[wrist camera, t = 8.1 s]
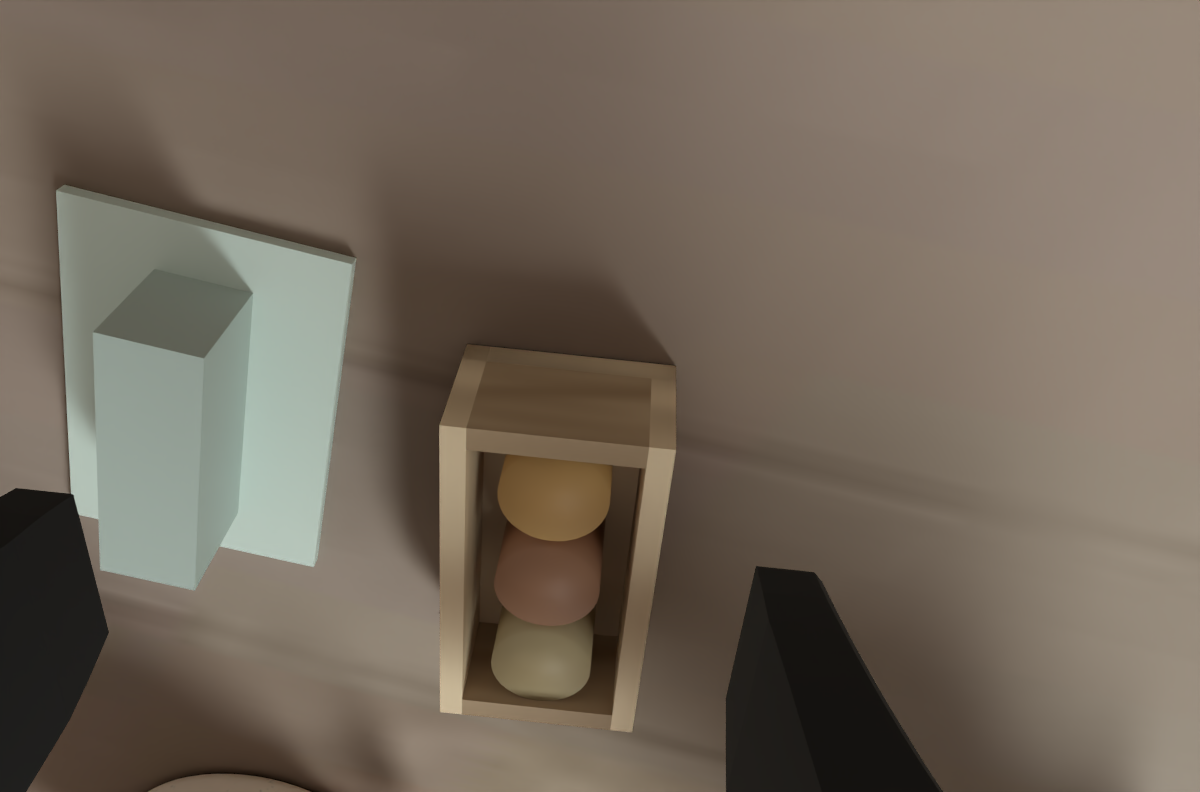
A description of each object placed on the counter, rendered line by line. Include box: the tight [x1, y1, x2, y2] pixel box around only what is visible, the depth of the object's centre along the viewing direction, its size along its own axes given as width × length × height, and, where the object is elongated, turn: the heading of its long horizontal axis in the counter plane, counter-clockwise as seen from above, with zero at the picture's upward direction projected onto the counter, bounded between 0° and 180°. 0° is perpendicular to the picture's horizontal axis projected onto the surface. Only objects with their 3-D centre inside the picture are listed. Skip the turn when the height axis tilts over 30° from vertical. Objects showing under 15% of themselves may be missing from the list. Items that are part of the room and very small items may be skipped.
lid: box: [56, 185, 356, 591], centre depth 21 cm, size 8×6×3 cm
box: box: [439, 344, 676, 732], centre depth 22 cm, size 8×4×3 cm, turn 175°
